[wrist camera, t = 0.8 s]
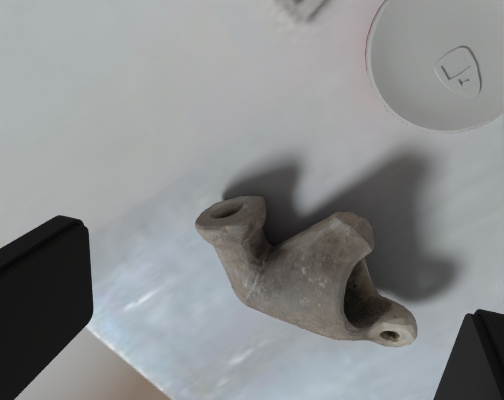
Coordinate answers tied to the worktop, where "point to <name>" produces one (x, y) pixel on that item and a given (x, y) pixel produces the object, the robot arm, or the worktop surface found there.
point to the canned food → (438, 62)
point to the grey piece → (306, 273)
